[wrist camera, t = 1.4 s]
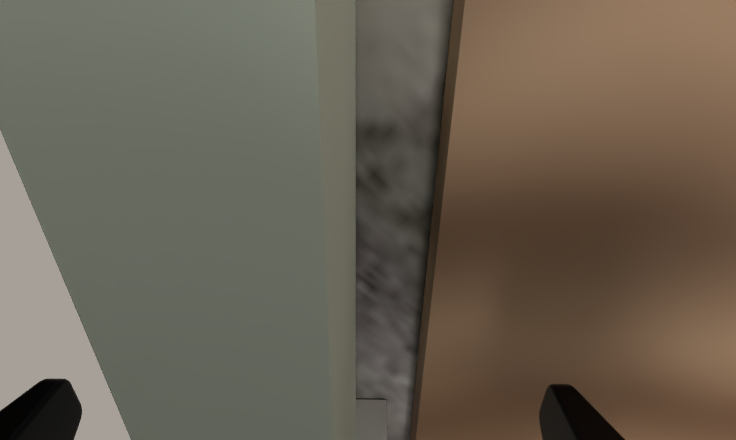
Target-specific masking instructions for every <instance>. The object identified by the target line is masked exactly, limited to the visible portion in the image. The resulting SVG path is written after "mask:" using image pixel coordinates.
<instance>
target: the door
mask: <svg viewBox="0 0 736 440" xmlns="http://www.w3.org/2000/svg"><path fill="white" fill-rule="evenodd" d="M0 130H1V132H2V134H3V137H4V139H5V142H6V144H7V146H8V149H9V151H10V154H11V156H12V158H13V161H14V163H15V165H16V168H17V170H18V172H19V175H20V177H21V180H22V182H23V184H24V187H25V189H26V192H27V194H28V196H29V198H30V201H31V203H32V206H33V208H34V210H35V213H36V215H37V217H38V220H39V222H40V225H41V227H42V229H43V232H44V234H45V236H46V239H47V241H48V244H49V246H50V248H51V251H52V253H53V256H54V258H55V260H56V262H57V265H58V267H59V270H60V272H61V274H62V277H63V279H64V282H65V284H66V286H67V289H68V291H69V293H70V296H71V298H72V301H73V303H74V305H75V308H76V310H77V312H78V315H79V317H80V319H81V322H82V324H83V326H84V329H85V331H86V334H87V336H88V339H89V341H90V343H91V346H92V348H93V350H94V353H95V355H96V357H97V360H98V362H99V365H100V367H101V369H102V371H103V374H104V376H105V379H106V381H107V384H108V386H109V388H110V391H111V393H112V396H113V398H114V400H115V402H116V405H117V407H118V410H119V412H120V414H121V417H122V419H123V421H124V424H125V426H126V429H127V431H128V433H129V435H130V438H131V440H388V434H387V405H386V400H362V399H356V0H0Z"/></svg>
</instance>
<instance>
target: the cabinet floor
mask: <svg viewBox="0 0 736 440" xmlns="http://www.w3.org/2000/svg"><path fill="white" fill-rule="evenodd" d="M550 384H569V385H572V386H573V387H574V388H576V389H577V390H578V391H579V392H580V394H581V395H582V396H583V397H584V398H585V399H586V400H587V401H588V402H589V403H590V404H591V405H592V406H593V407H594V408H595V409H596V410H597V411H598V412H599V413H600V414H601V415H602V416H603V417H604V418H605V419H606V420H607V421H608V422H609V423H610V424H611V425H612V426H613V427H614V428H615V429H616V430H617V431H618V433H619V434H620V435H621V436H622V437H623V438H624V439H625V440H736V0H454V2H453V12H452V22H451V32H450V42H449V52H448V62H447V72H446V82H445V92H444V102H443V112H442V122H441V132H440V142H439V152H438V162H437V172H436V181H435V191H434V201H433V211H432V221H431V231H430V241H429V251H428V261H427V271H426V281H425V291H424V301H423V311H422V321H421V331H420V341H419V351H418V361H417V371H416V381H415V391H414V401H413V411H412V420H411V430H410V440H543V438H542V433H541V428H540V423H539V411H540V407H541V404H542V401H543V398H544V395H545V392H546V389H547V387H548V386H549V385H550Z"/></svg>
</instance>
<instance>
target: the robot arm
mask: <svg viewBox="0 0 736 440" xmlns="http://www.w3.org/2000/svg"><path fill="white" fill-rule="evenodd" d="M81 415H82V408H81V404H80V402H79V400H78V397H77V395H76V393H75V391H74V389H73V387H72V385H71V383H70V382H69V381H68V380H66V379H45V380H42V381H40V382H39V383H37V384H36V385H34V386H33V387H32V388H30V389H29V390H28V391H26V392H25V393H24V394H22V395H21V396H20V397H18V398H17V399H16V400H14V401H13V402H12V403H10V404H9V405H8V406H6V407H5V408H4V409H2V410H1V411H0V440H74V437H75V434H76V431H77V429H78V425H79V423H80V420H81ZM539 423H540V428H541V433H542V438H543V440H625V439H624V438H623V437H622V436H621V435H620V434H619V433H618V431H617V430H616V429H615V428H614V427H613V426H612V425H611V424H610V423H609V422H608V421H607V420H606V419H605V418H604V417H603V416H602V415H601V414H600V413H599V412H598V411H597V410H596V409H595V408H594V407H593V406H592V405H591V404H590V403H589V402H588V401H587V400H586V399H585V398H584V397H583V396H582V395H581V394H580V392H579V391H578V390H577V389H576V388H574V387H573V386H572V385H569V384H550V385H549V386H548V387H547V389H546V392H545V395H544V398H543V401H542V404H541V407H540V411H539Z"/></svg>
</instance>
